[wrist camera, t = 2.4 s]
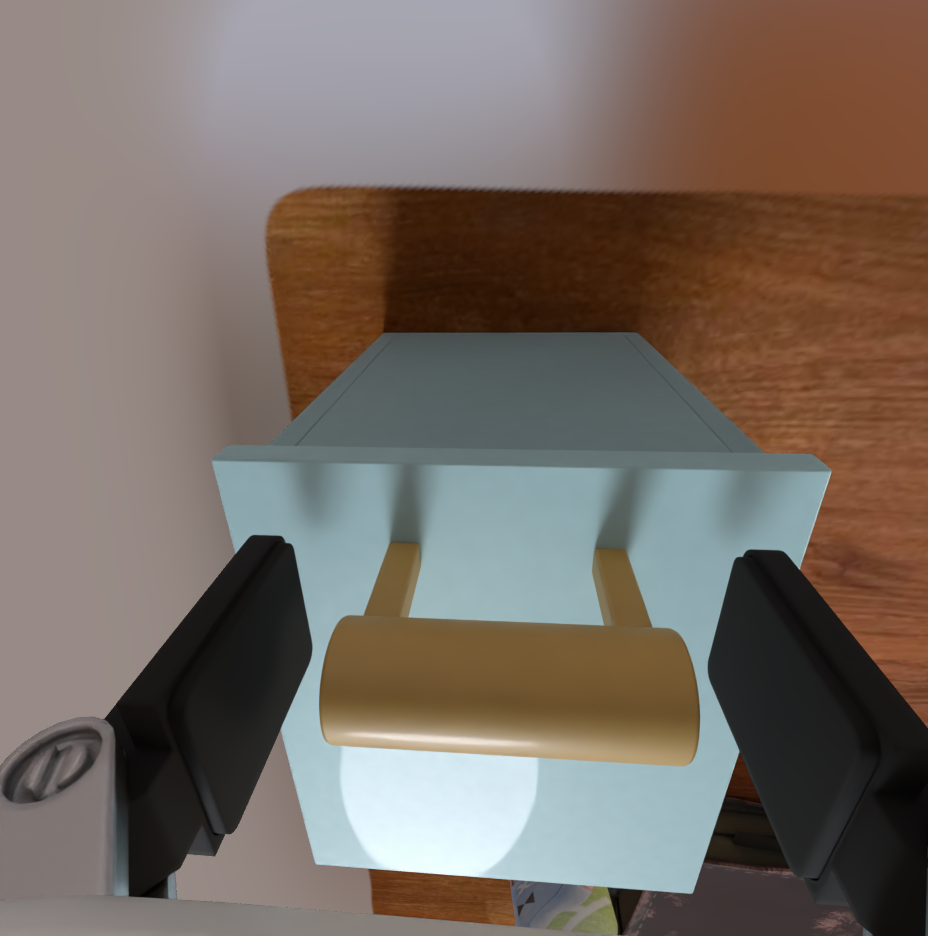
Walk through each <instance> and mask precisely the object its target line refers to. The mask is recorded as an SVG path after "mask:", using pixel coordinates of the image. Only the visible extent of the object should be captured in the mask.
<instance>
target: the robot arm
mask: <svg viewBox="0 0 928 936" xmlns="http://www.w3.org/2000/svg"><path fill="white" fill-rule="evenodd" d="M312 651H313V645H312V638H311V633H310V628H309V623H308V618H307V613H306V608H305V603H304V597H303V592H302V587H301V582H300V577H299V572H298V567H297V562H296V557H295V551H294V548H293V545H292V544H290V543H286V542H285V540H284V538H283V537H282V536H278V535H252V536H250V537H249V538H248V539H247V540H246V542H245V543H244V544H243V545H242V547H241V548H240V549H239V550H238V552H237V553H236V554H235V555H234V557H233V558H232V559H231V561H230V562H229V563H228V564H227V565H226V567H225V568H224V569H223V571H222V572H221V573H220V574H219V575H218V577H217V578H216V579H215V581H214V582H213V583H212V584H211V585H210V587H209V588H208V589H207V591H206V592H205V593H204V594H203V596H202V597H201V598H200V599H199V601H198V602H197V603H196V604H195V606H194V607H193V608H192V609H191V611H190V612H189V613H188V614H187V616H186V617H185V618H184V619H183V621H182V622H181V623H180V624H179V626H178V627H177V628H176V629H175V631H174V632H173V633H172V634H171V636H170V637H169V638H168V639H167V641H166V642H165V643H164V644H163V646H162V647H161V648H160V649H159V651H158V652H157V653H156V655H155V656H154V657H153V658H152V660H151V661H150V662H149V663H148V665H147V666H146V667H145V668H144V670H143V671H142V672H141V673H140V675H139V676H138V677H137V678H136V680H135V681H134V682H133V683H132V685H131V686H130V687H129V689H128V690H127V691H126V692H125V693H124V695H123V696H122V697H121V699H120V700H119V701H118V702H117V704H116V705H115V706H114V708H113V709H112V710H111V711H110V713H109V714H108V715H107V716H106V718H105V719H100V718H96V717H79V718H74V719H70V720H67V721H63V722H60V723H58V724H55V725H53V726H51V727H49V728H47V729H45V730H42V731H40V732H39V733H38V734H36V735H35V736H33V737H31V738H30V739H28V740H27V741H25V742H24V743H22V744H21V745H20V746H19V747H18V748H17V749H16V750H15V751H13V753H11V754H10V755H9V756H8V757H7V758H6V759H5V760H4V762H3V763H2V764H1V766H0V936H621V935H609V934H598V933H586V932H575V931H563V930H552V929H540V928H529V927H517V926H506V925H494V924H482V923H470V922H458V921H447V920H435V919H423V918H411V917H400V916H388V915H375V914H362V913H350V912H337V911H325V910H313V909H300V908H288V907H275V906H262V905H250V904H238V903H225V902H210V901H194V900H177V893H176V892H177V890H176V878H175V871H177V870H178V869H179V868H180V867H181V866H182V863H183V861H184V860H185V857H186V855H187V854H193V855H206V856H215V855H216V853H217V851H218V849H219V847H220V844H221V842H222V840H223V838H224V836H225V834H231V833H233V832H234V831H235V829H236V828H237V826H238V824H239V822H240V820H241V818H242V815H243V813H244V811H245V809H246V806H247V804H248V802H249V799H250V797H251V795H252V793H253V791H254V788H255V786H256V784H257V781H258V779H259V777H260V775H261V772H262V770H263V768H264V766H265V763H266V761H267V759H268V756H269V754H270V752H271V750H272V747H273V745H274V743H275V741H276V738H277V736H278V734H279V732H280V729H281V727H282V725H283V722H284V720H285V718H286V716H287V713H288V711H289V709H290V707H291V704H292V702H293V700H294V698H295V695H296V693H297V691H298V688H299V686H300V684H301V682H302V679H303V677H304V675H305V673H306V670H307V668H308V666H309V663H310V661H311V657H312ZM707 669H708V676H709V680H710V683H711V685H712V688H713V690H714V692H715V695H716V697H717V700H718V702H719V704H720V707H721V709H722V711H723V714H724V716H725V718H726V721H727V723H728V725H729V728H730V730H731V732H732V735H733V737H734V739H735V742H736V744H737V746H738V749H739V751H740V753H741V756H742V758H743V760H744V763H745V765H746V768H747V770H748V772H749V775H750V777H751V779H752V782H753V784H754V786H755V789H756V791H757V793H758V796H759V798H760V800H761V803H762V805H763V807H764V810H765V812H766V814H767V817H768V819H769V821H770V824H771V826H772V828H773V831H774V833H775V836H776V838H777V840H778V843H779V845H780V847H781V850H782V852H783V854H784V857H785V859H786V861H787V863H788V865H789V867H790V869H791V871H792V872H793V873H794V875H796V876H797V877H803V878H804V880H805V882H806V885H807V887H808V889H809V891H810V894H811V896H812V898H813V901H814V903H815V904H825V905H838V906H850V908H851V910H852V912H853V914H854V916H855V919H856V921H857V923H858V924H860V925H861V926H862V927H863V934H862V936H928V728H927V727H926V725H925V724H924V723H923V722H922V720H921V719H920V718H919V717H918V716H917V714H916V713H915V712H914V711H913V709H912V708H911V707H910V706H909V704H908V703H907V702H906V701H905V699H904V698H903V697H902V696H901V695H900V693H899V692H898V691H897V690H896V688H895V687H894V686H893V685H892V683H891V682H890V681H889V680H888V678H887V677H886V676H885V675H884V674H883V672H882V671H881V670H880V669H879V667H878V666H877V665H876V664H875V662H874V661H873V660H872V659H871V657H870V656H869V655H868V654H867V652H866V651H865V650H864V649H863V648H862V646H861V645H860V644H859V643H858V641H857V640H856V639H855V638H854V636H853V635H852V634H851V633H850V631H849V630H848V629H847V628H846V627H845V625H844V624H843V623H842V622H841V620H840V619H839V618H838V617H837V615H836V614H835V613H834V612H833V610H832V609H831V608H830V607H829V606H828V604H827V603H826V602H825V601H824V599H823V598H822V597H821V596H820V594H819V593H818V592H817V591H816V589H815V588H814V587H813V586H812V585H811V583H810V582H809V581H808V580H807V578H806V577H805V576H804V575H803V573H802V572H801V571H800V570H799V568H798V567H797V566H796V565H795V564H794V562H793V561H792V560H791V559H790V557H789V556H788V555H787V554H786V553H785V552H784V551H781V550H757V549H749V550H747V551H746V552H745V553H744V555H743V557H737V558H736V559H735V560H734V562H733V566H732V570H731V573H730V577H729V581H728V585H727V589H726V593H725V597H724V601H723V605H722V608H721V612H720V616H719V620H718V624H717V628H716V632H715V636H714V639H713V643H712V647H711V651H710V655H709V659H708V667H707Z"/></svg>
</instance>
